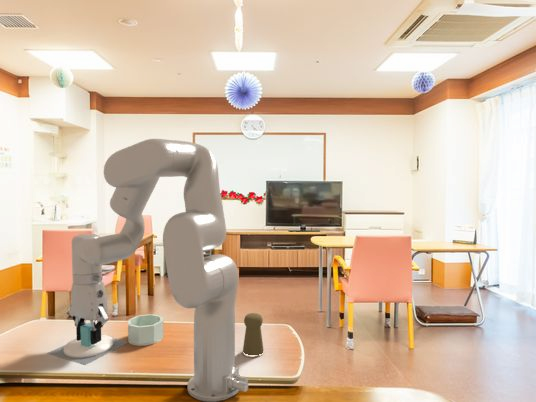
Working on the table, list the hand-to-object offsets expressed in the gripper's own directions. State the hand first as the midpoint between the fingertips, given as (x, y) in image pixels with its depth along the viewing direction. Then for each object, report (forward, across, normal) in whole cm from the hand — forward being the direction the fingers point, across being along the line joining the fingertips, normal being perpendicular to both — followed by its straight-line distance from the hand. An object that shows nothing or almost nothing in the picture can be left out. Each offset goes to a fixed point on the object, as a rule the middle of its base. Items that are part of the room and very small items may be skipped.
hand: (89, 340), depth 112 cm
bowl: (+3, -10, -12) cm, 16 cm away
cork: (+3, -43, -19) cm, 47 cm away
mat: (+3, 0, 0) cm, 3 cm away
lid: (+2, 0, 0) cm, 2 cm away
